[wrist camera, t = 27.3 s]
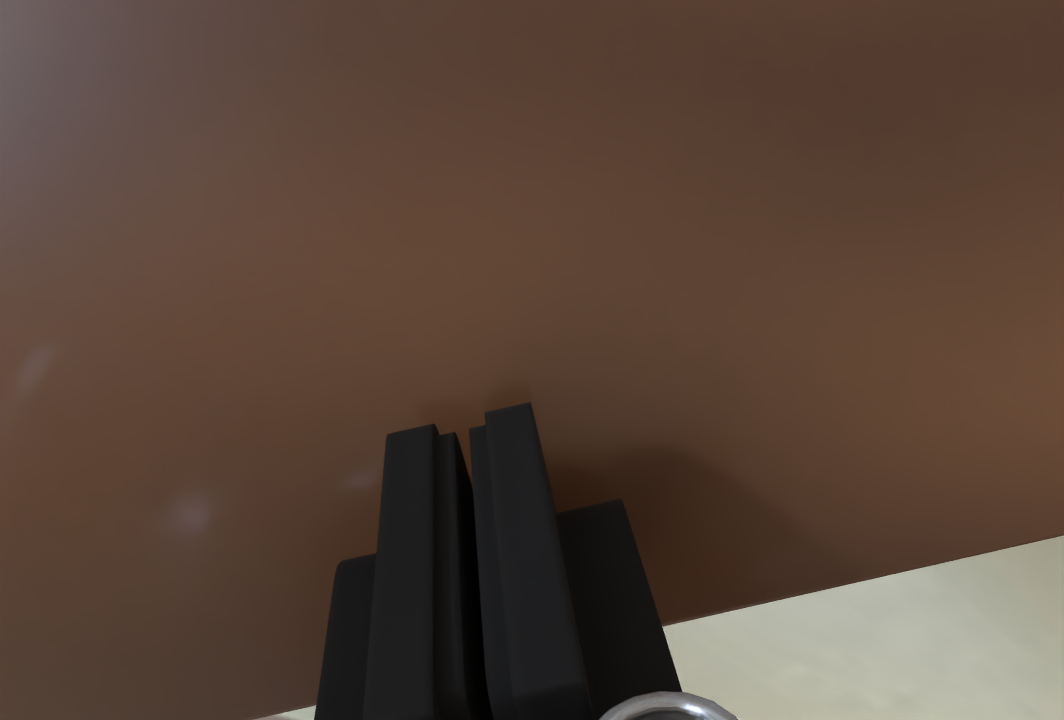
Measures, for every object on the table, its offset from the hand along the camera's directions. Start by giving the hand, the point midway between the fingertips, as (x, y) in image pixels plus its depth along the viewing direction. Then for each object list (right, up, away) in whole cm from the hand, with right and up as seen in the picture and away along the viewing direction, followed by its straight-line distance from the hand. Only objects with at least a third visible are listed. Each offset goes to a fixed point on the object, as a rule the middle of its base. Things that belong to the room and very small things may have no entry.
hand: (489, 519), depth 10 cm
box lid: (0, +6, +1) cm, 6 cm away
